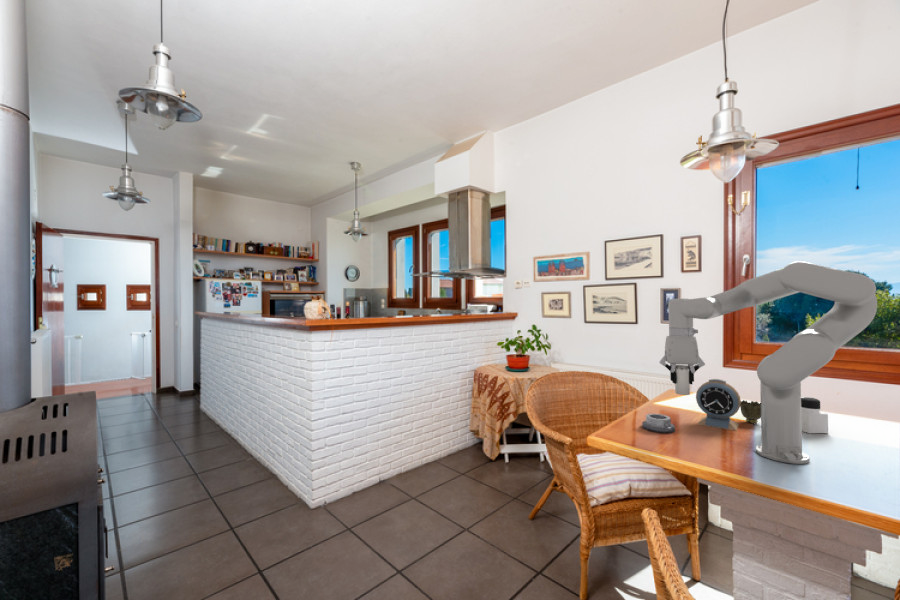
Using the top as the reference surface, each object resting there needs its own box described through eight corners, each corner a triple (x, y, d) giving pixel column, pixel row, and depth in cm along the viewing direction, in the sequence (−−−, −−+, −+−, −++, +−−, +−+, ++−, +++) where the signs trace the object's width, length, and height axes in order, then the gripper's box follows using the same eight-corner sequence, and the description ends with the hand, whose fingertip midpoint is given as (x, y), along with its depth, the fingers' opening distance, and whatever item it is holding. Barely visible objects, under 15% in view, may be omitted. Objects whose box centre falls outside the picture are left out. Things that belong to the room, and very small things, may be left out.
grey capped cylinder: (691, 395, 133) (690, 367, 133) (676, 394, 135) (676, 366, 135) (687, 392, 137) (687, 365, 138) (674, 391, 139) (673, 364, 139)
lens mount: (678, 434, 138) (677, 422, 138) (644, 431, 141) (644, 419, 141) (671, 425, 148) (671, 413, 148) (640, 422, 152) (640, 411, 152)
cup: (762, 421, 151) (761, 401, 151) (765, 426, 145) (765, 405, 145) (738, 418, 155) (738, 399, 155) (741, 423, 149) (740, 403, 149)
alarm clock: (694, 423, 150) (693, 379, 150) (699, 418, 157) (698, 375, 157) (739, 431, 140) (738, 383, 140) (742, 425, 147) (741, 379, 147)
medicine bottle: (828, 433, 136) (828, 400, 136) (808, 433, 136) (807, 400, 136) (810, 427, 143) (809, 395, 143) (791, 427, 143) (790, 395, 144)
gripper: (705, 332, 137) (706, 382, 137) (653, 331, 143) (654, 380, 142) (711, 333, 130) (713, 386, 130) (656, 333, 136) (657, 384, 135)
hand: (682, 382), depth 136 cm, fingers closed on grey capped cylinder, 4 cm apart
